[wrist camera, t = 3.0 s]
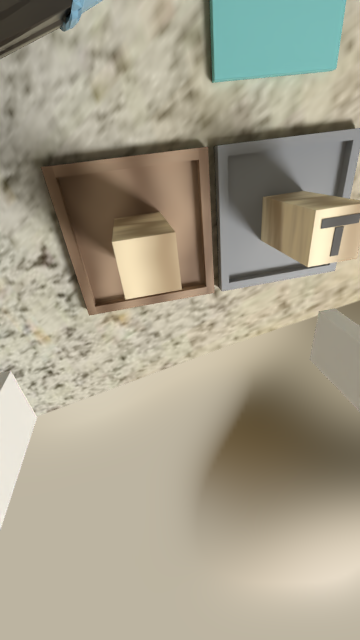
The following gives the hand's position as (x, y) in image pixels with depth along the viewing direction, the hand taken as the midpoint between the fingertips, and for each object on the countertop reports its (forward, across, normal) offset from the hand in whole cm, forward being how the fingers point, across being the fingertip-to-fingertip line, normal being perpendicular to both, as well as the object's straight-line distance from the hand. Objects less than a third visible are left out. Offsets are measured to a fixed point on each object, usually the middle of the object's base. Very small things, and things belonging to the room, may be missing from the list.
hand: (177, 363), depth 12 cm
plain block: (+22, 0, 0) cm, 23 cm away
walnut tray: (+23, 0, 0) cm, 23 cm away
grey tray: (+23, +17, 0) cm, 28 cm away
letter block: (+22, +17, 0) cm, 28 cm away
